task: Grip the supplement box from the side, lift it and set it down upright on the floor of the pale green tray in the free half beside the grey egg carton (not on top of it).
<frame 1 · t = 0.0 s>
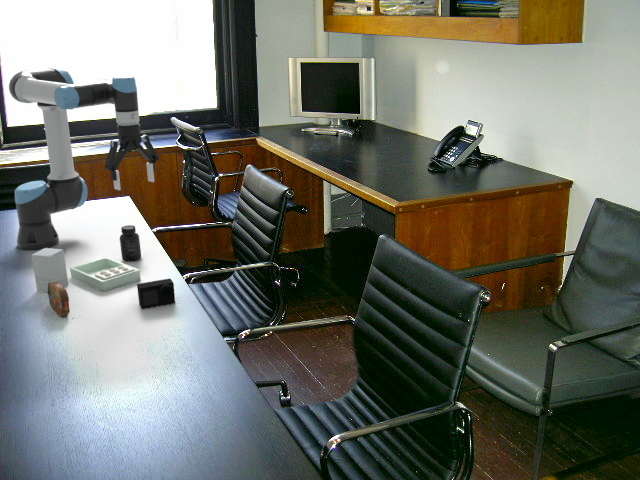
hand: (134, 185, 269), 28 cm above the table, tool pointing down, fingers open, 13 cm apart
pale green tray: (105, 278, 264), on the table
digital camera: (157, 305, 241), on the table
supplement box: (52, 288, 257), on the table
tin: (60, 311, 239), on the table
supplement bottle: (131, 259, 282), on the table
egg carton: (115, 282, 260), resting on pale green tray
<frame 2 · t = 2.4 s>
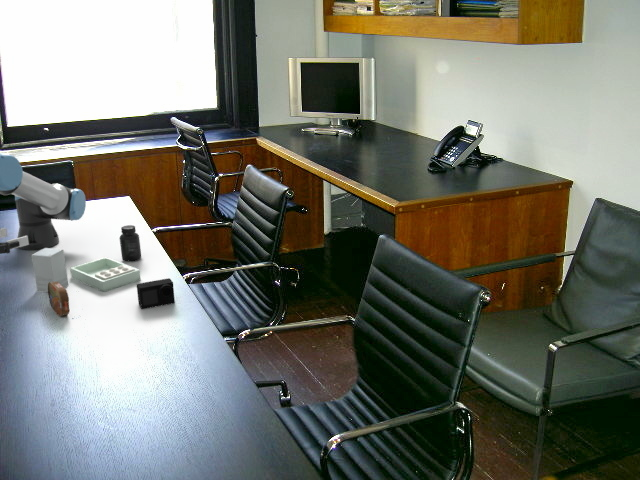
hand: (17, 235, 244), 20 cm above the table, tool horizontal, fingers open, 13 cm apart
nothing on the table moved.
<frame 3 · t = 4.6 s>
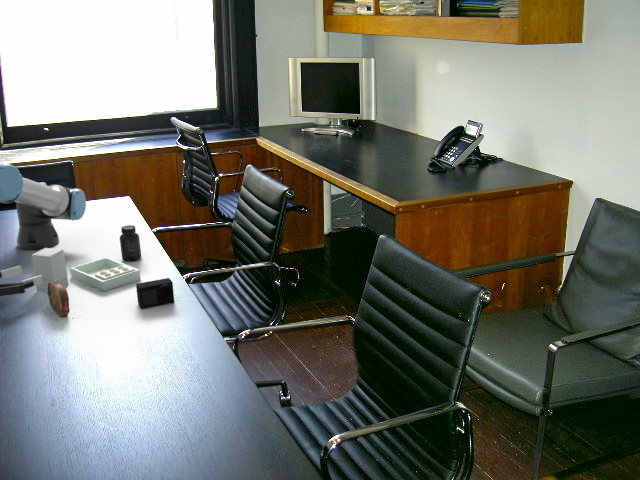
hand: (31, 274, 250), 7 cm above the table, tool horizontal, fingers open, 13 cm apart
nothing on the table moved.
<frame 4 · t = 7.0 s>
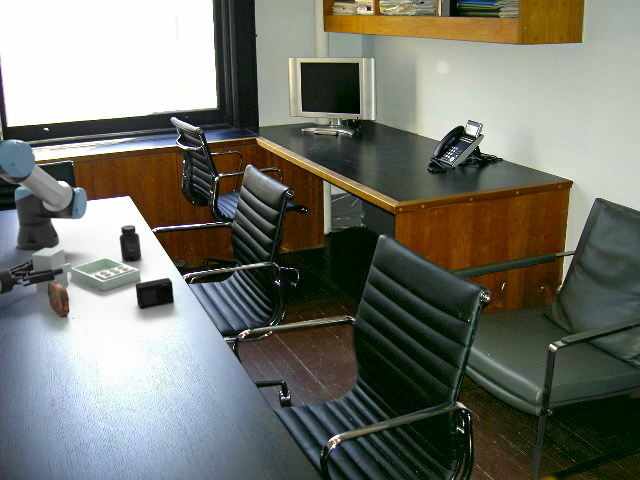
hand: (62, 263, 257), 7 cm above the table, tool horizontal, fingers closed on supplement box, 9 cm apart
supplement box: (52, 288, 257), on the table, touching gripper
everything else where it was.
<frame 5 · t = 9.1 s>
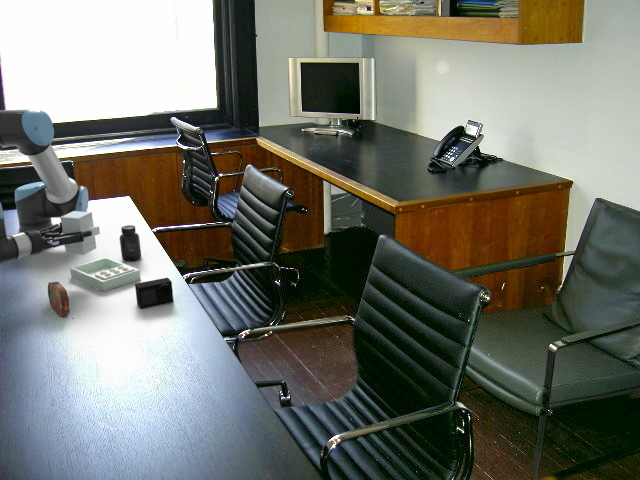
hand: (90, 226, 260), 18 cm above the table, tool horizontal, fingers closed on supplement box, 9 cm apart
supplement box: (81, 251, 260), point 10 cm above the table, touching gripper
everything else where it was.
when the fingers open (9 cm above the table, at t = 11.7 s): supplement box stays where it is, resting on pale green tray.
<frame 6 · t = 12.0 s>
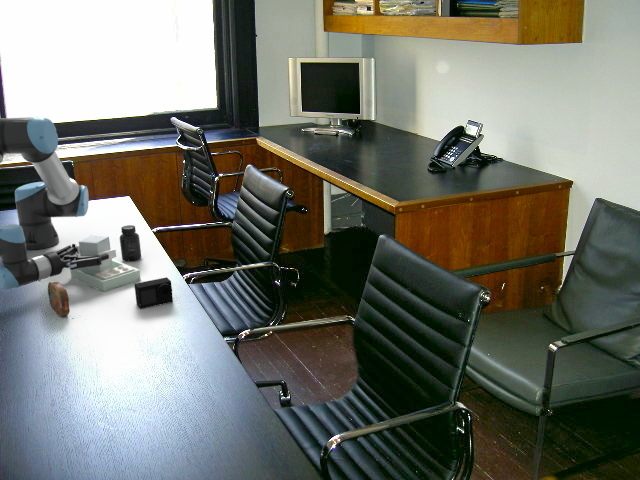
hand: (104, 248, 266), 9 cm above the table, tool horizontal, fingers open, 12 cm apart
supplement box: (98, 274, 266), resting on pale green tray
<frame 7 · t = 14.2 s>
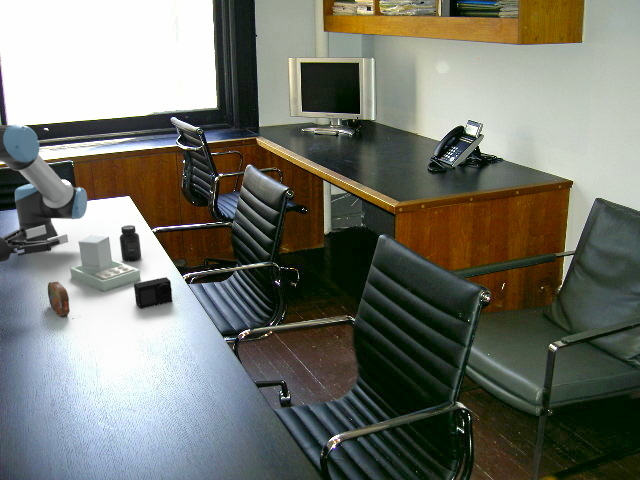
hand: (56, 233, 253), 18 cm above the table, tool horizontal, fingers open, 13 cm apart
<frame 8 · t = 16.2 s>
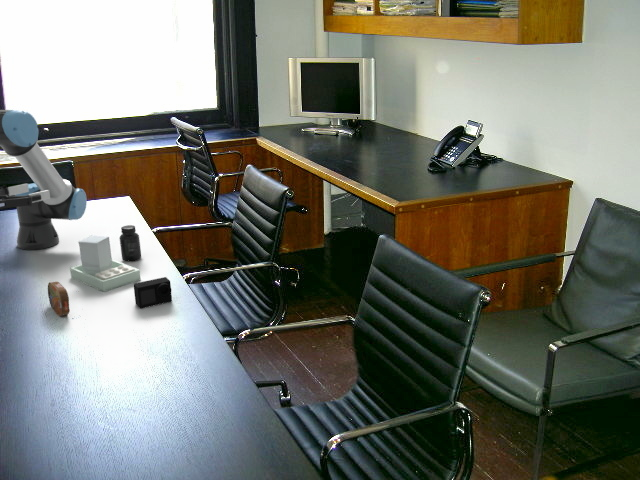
hand: (38, 190, 249), 32 cm above the table, tool horizontal, fingers open, 13 cm apart
at the end: supplement box inside the target area (0.5 cm from its centre), resting on pale green tray; supplement box tilted 0°; the gripper is holding nothing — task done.
